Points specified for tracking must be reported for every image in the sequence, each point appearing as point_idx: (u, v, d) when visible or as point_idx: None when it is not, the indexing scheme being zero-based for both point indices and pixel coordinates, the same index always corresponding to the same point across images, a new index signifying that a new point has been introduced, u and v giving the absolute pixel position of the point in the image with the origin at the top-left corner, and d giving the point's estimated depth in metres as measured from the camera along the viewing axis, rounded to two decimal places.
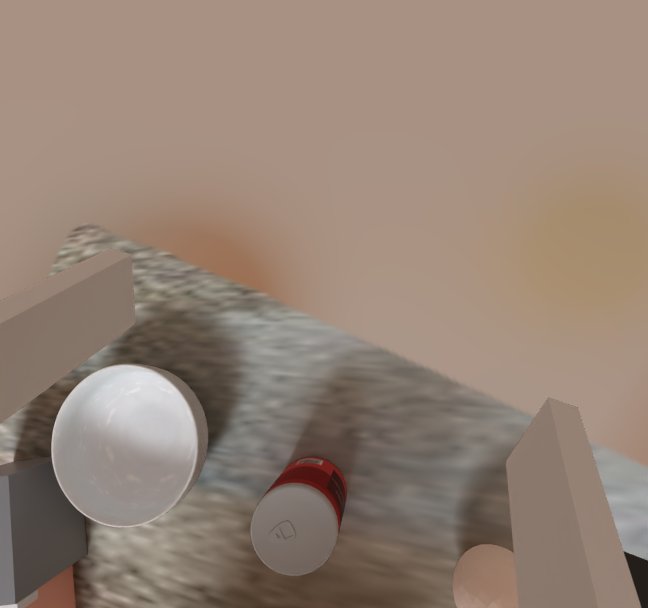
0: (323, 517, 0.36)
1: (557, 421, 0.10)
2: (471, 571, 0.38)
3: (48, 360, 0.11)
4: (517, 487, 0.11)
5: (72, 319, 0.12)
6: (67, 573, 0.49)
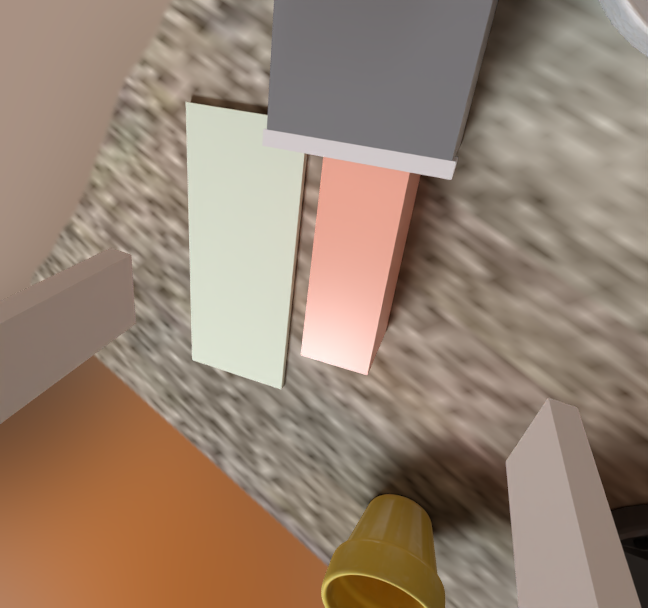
0: None
1: (557, 421, 0.10)
2: None
3: (48, 360, 0.11)
4: (517, 487, 0.11)
5: (72, 319, 0.12)
6: None
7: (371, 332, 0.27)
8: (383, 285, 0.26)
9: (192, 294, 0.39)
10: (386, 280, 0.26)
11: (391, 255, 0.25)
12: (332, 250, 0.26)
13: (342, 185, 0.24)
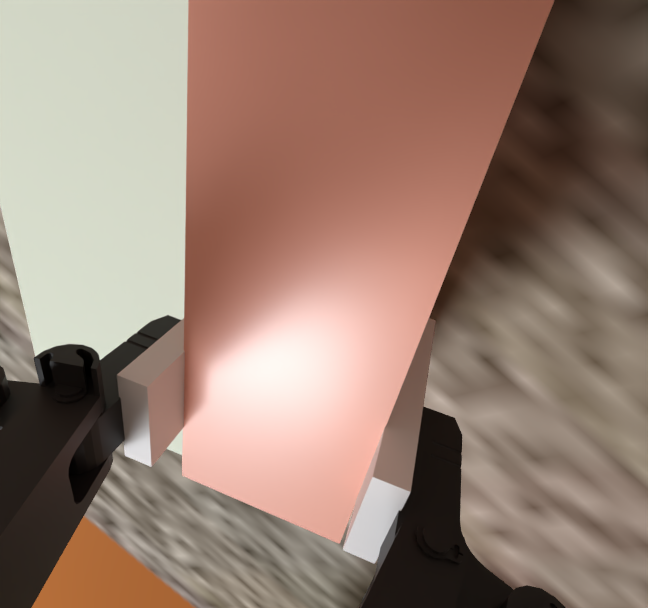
0: None
1: None
2: None
3: None
4: None
5: None
6: None
7: (355, 463, 0.10)
8: (404, 353, 0.08)
9: (22, 290, 0.21)
10: (417, 339, 0.08)
11: (446, 262, 0.07)
12: (244, 229, 0.08)
13: None
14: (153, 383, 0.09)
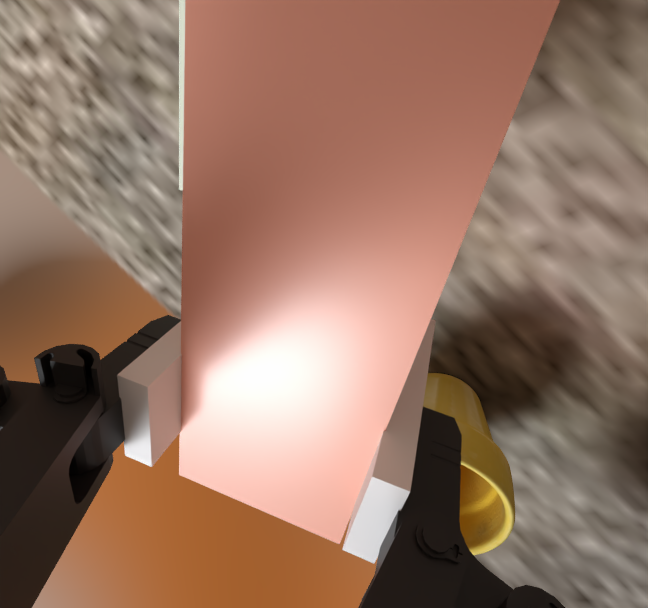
0: None
1: None
2: None
3: None
4: None
5: None
6: None
7: (356, 463, 0.10)
8: (407, 349, 0.08)
9: (181, 79, 0.27)
10: (420, 335, 0.08)
11: (452, 255, 0.07)
12: (243, 221, 0.08)
13: None
14: (153, 383, 0.09)
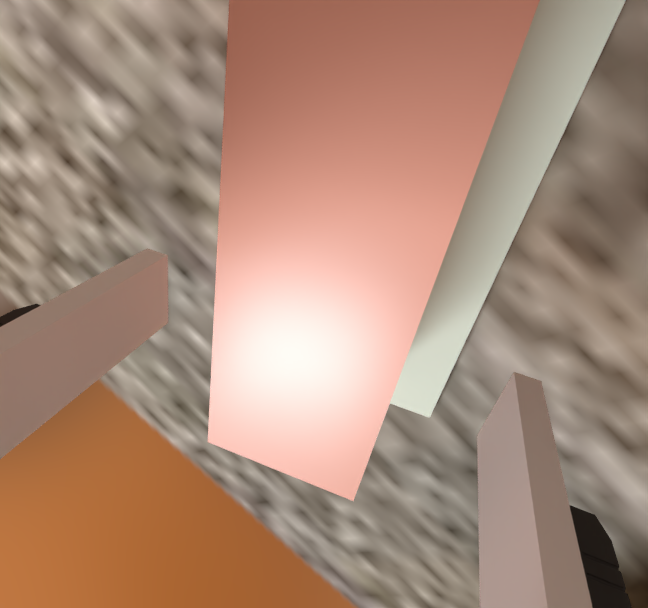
0: None
1: (520, 392, 0.11)
2: None
3: (93, 357, 0.12)
4: (484, 456, 0.12)
5: (115, 317, 0.12)
6: None
7: (368, 422, 0.11)
8: (413, 316, 0.09)
9: None
10: (424, 303, 0.09)
11: (449, 233, 0.08)
12: (272, 208, 0.09)
13: None
14: None
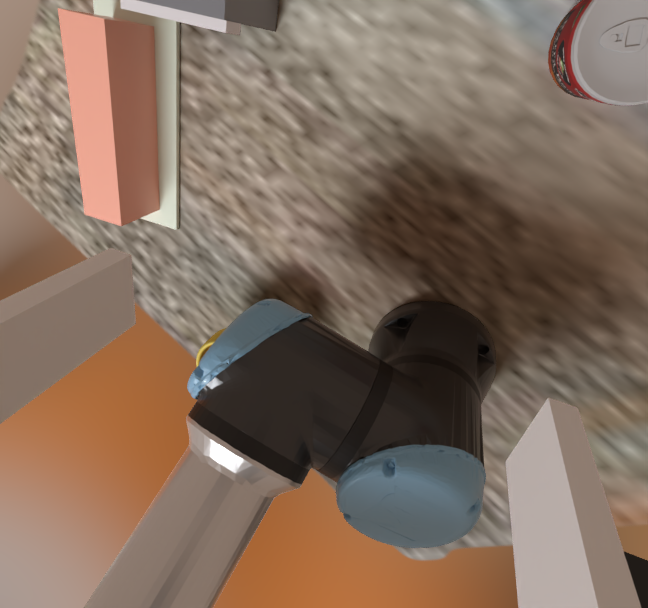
0: None
1: (557, 421, 0.10)
2: None
3: (48, 360, 0.11)
4: (517, 487, 0.11)
5: (72, 319, 0.12)
6: (150, 96, 0.46)
7: (116, 197, 0.46)
8: (114, 165, 0.44)
9: None
10: (116, 162, 0.44)
11: (114, 146, 0.43)
12: (85, 143, 0.44)
13: (80, 102, 0.42)
14: None
